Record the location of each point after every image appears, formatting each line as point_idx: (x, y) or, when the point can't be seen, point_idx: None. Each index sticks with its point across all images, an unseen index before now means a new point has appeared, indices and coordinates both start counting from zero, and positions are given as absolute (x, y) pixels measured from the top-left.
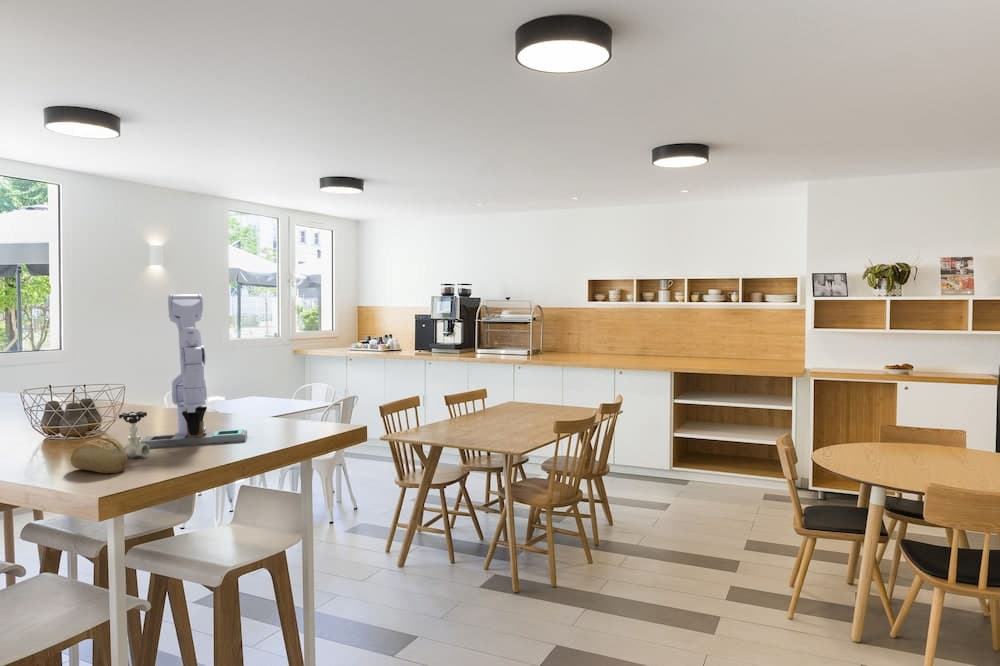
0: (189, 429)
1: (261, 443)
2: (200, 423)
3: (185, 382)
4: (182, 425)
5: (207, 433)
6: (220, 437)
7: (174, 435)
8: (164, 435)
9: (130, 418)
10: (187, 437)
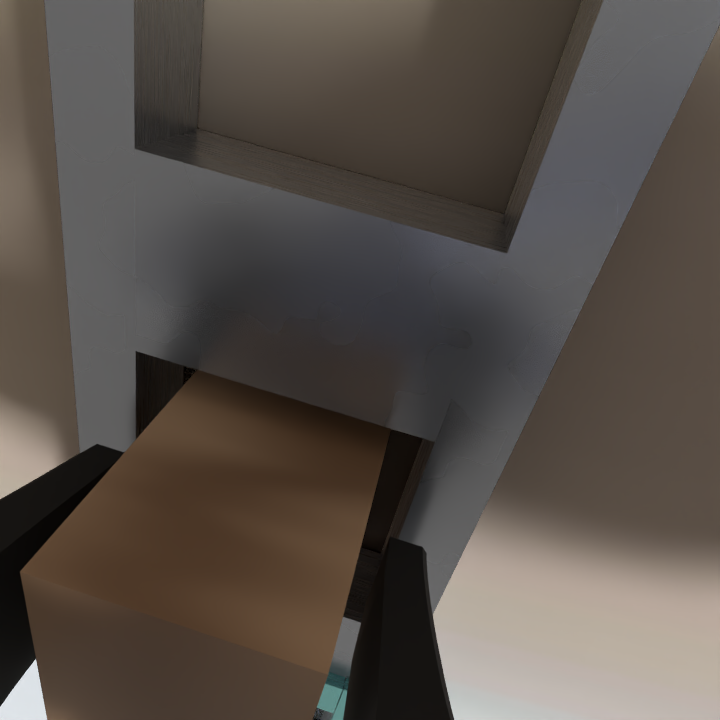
0: (6, 502)
1: (35, 712)
2: (50, 708)
3: None
4: None
5: (346, 622)
6: None
7: (493, 253)
8: (674, 36)
9: None
10: (176, 396)
